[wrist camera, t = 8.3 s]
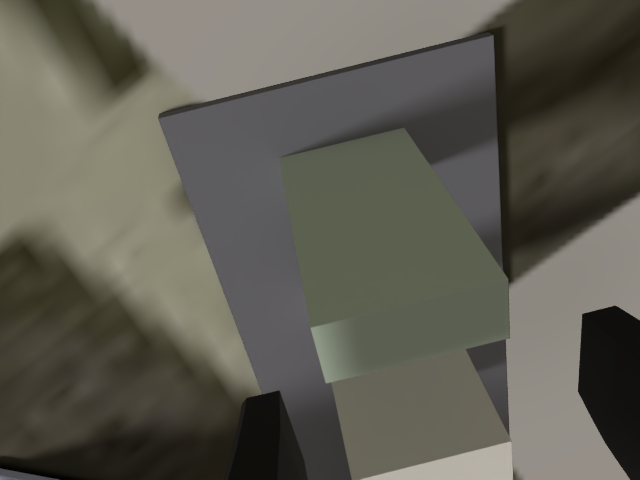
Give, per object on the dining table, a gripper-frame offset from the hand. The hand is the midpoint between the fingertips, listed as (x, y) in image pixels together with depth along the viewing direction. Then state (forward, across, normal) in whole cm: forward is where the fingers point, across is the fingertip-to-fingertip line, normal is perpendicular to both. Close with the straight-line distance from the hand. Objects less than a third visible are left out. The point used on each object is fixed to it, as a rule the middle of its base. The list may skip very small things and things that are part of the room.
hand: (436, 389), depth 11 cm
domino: (+10, 0, +5) cm, 11 cm away
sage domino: (+10, 0, 0) cm, 10 cm away
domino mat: (+10, 0, +10) cm, 14 cm away
